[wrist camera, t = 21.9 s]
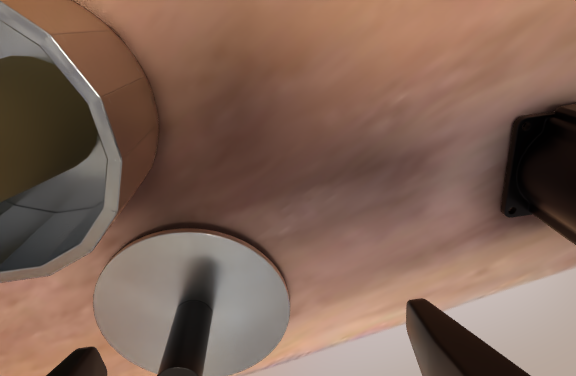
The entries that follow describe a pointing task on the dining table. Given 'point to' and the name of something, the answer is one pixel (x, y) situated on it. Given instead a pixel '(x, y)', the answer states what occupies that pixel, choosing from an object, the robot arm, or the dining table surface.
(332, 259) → the dining table surface
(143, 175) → the pot
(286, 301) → the lid
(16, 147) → the cork
